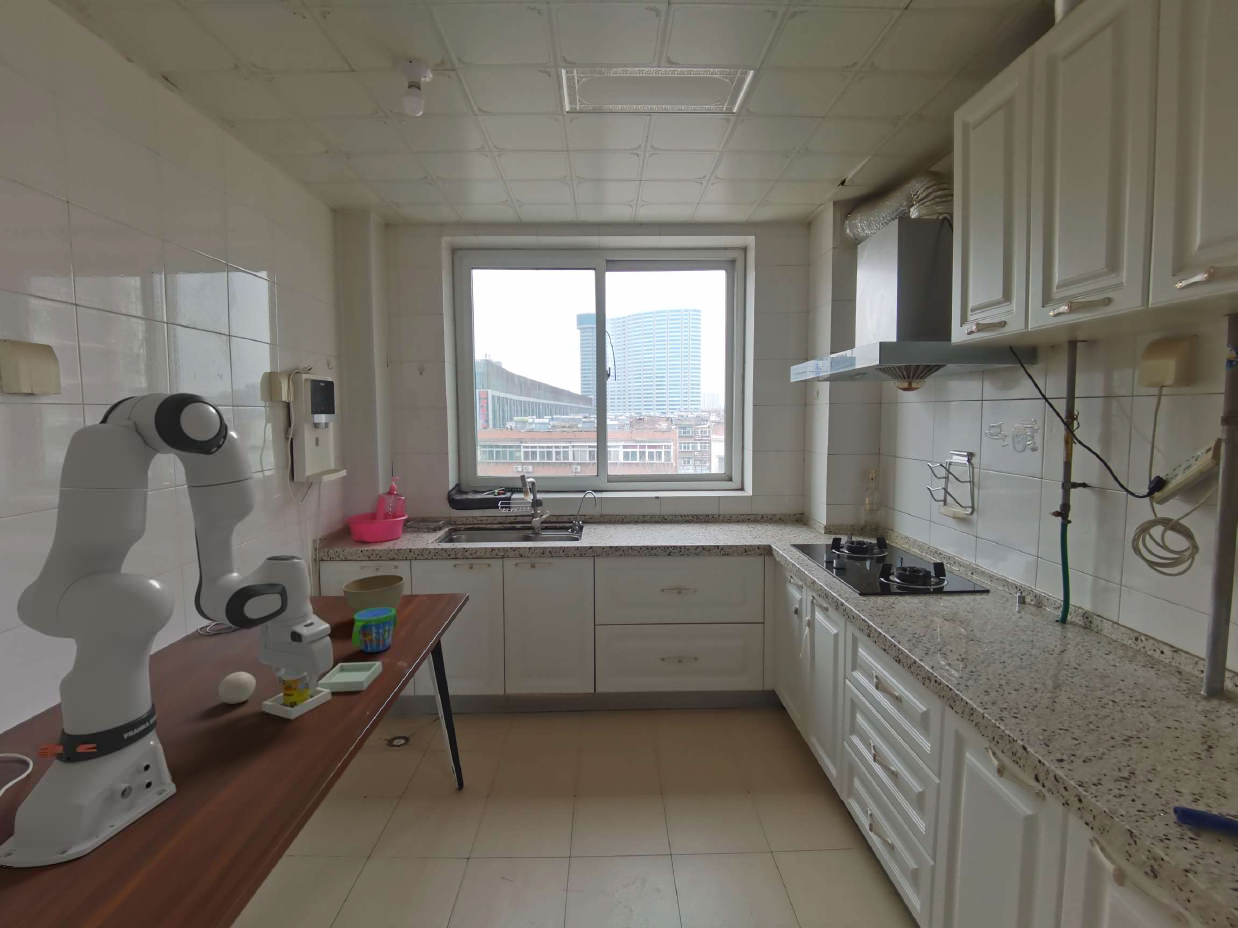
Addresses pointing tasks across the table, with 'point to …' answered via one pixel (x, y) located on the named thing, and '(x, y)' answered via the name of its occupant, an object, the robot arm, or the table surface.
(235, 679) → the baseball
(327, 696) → the holder
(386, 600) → the flower pot
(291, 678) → the supplement bottle
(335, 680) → the tray
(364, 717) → the table surface
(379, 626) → the snack cup
